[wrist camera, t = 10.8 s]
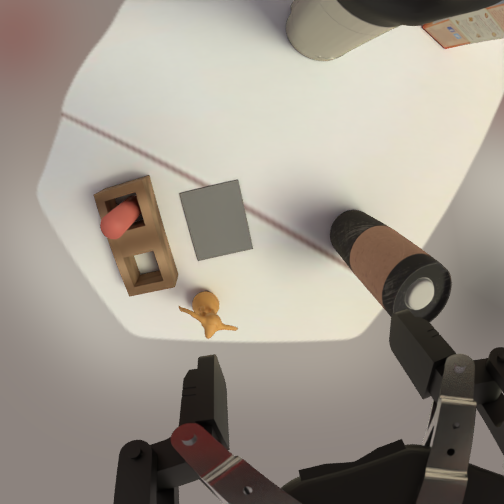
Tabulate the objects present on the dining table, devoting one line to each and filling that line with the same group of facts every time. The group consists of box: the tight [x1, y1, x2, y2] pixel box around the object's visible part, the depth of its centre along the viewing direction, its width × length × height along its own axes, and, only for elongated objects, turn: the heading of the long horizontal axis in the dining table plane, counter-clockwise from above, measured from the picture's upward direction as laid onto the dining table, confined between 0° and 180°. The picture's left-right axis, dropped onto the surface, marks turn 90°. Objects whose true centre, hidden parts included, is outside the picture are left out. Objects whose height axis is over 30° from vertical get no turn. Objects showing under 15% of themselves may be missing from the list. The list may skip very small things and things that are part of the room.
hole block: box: [94, 176, 178, 296], centre depth 41 cm, size 15×7×4 cm, turn 11°
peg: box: [100, 196, 142, 239], centre depth 37 cm, size 3×3×10 cm
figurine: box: [179, 292, 238, 339], centre depth 41 cm, size 8×6×12 cm
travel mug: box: [330, 210, 452, 322], centre depth 36 cm, size 8×8×20 cm
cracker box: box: [423, 0, 504, 49], centre depth 23 cm, size 14×6×21 cm, turn 151°
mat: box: [180, 180, 253, 261], centre depth 43 cm, size 10×8×1 cm
